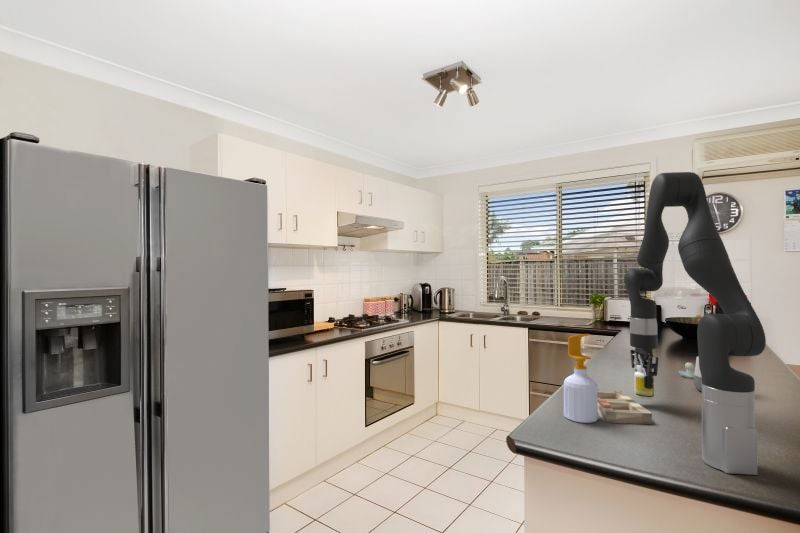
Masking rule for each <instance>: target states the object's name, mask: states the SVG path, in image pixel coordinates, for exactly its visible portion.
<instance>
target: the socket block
mask: <svg viewBox="0 0 800 533" xmlns="http://www.w3.org/2000/svg"><path fill="white" fill-rule="evenodd" d="M598 415H599V416H600V418H602V419H603V420H604V422H606V423H610V424H611V423H614V424H637V425H638V424H639V425H641V424H643V425H652V424H653V413H652V412H650V411H649V410H648V409H646V408H645V407H644V406H643V405H640V404H639V403H638V402H637V401H635V400H633V398H632V397H630V396H628V395H627V394H625V393H624V392H622V391H620V390H619V391H618V390H598Z"/></svg>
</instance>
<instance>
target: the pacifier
mask: <svg viewBox="0 0 800 533" xmlns="http://www.w3.org/2000/svg"><path fill="white" fill-rule="evenodd" d="M684 367H685V368H684V369H686V371H682V370H678V373H679V374H680V376H682V377H683V378H685V377H686V379H690V378H691V379H693V380H694V372H693V370H695V365H694V364H693V363H692V362H686V363H685V364H684Z"/></svg>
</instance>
